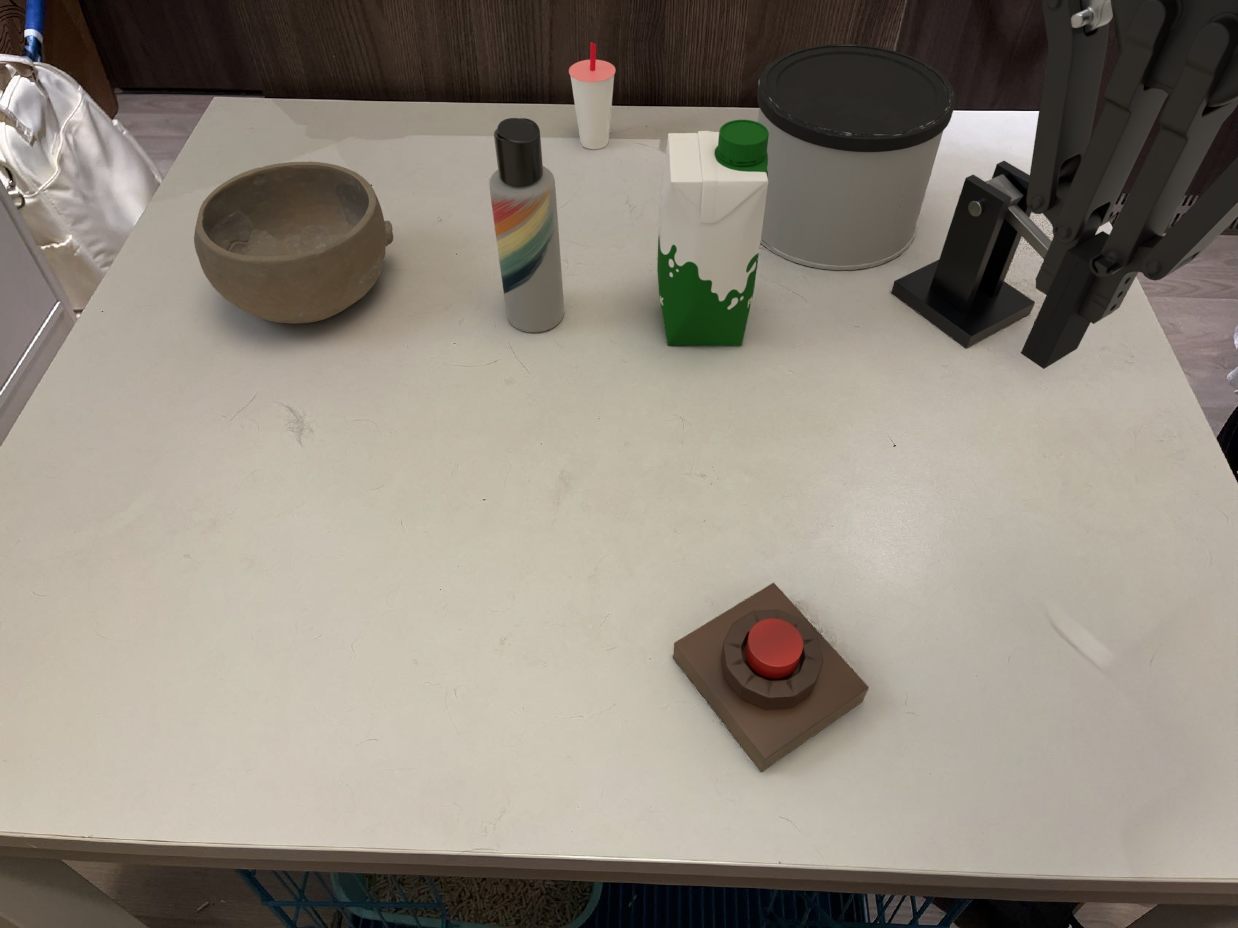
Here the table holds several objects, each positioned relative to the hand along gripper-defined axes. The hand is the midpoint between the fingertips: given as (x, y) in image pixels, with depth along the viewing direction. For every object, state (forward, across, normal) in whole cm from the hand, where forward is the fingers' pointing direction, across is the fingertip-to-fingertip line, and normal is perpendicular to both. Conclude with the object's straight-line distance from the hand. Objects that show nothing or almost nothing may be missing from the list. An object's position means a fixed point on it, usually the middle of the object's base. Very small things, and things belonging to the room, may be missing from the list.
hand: (1049, 350), depth 47 cm
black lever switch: (+25, +22, -29) cm, 44 cm away
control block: (+26, +2, +14) cm, 29 cm away
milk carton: (+26, +35, -6) cm, 44 cm away
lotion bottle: (+26, +45, +7) cm, 52 cm away
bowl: (+26, +62, +23) cm, 71 cm away
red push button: (+22, +2, +14) cm, 26 cm away
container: (+26, +40, -28) cm, 55 cm away
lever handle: (+16, +18, -29) cm, 37 cm away
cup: (+25, +69, -16) cm, 75 cm away
